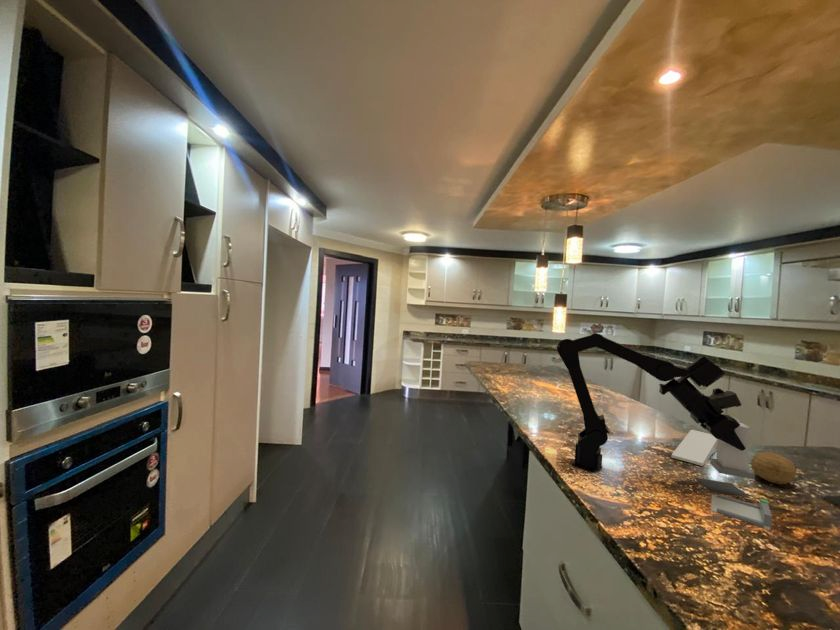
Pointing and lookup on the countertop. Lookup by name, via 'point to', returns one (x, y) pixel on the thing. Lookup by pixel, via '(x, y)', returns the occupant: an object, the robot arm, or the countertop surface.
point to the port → (743, 510)
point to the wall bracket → (696, 448)
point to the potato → (773, 467)
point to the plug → (734, 455)
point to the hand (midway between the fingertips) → (739, 446)
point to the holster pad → (721, 487)
